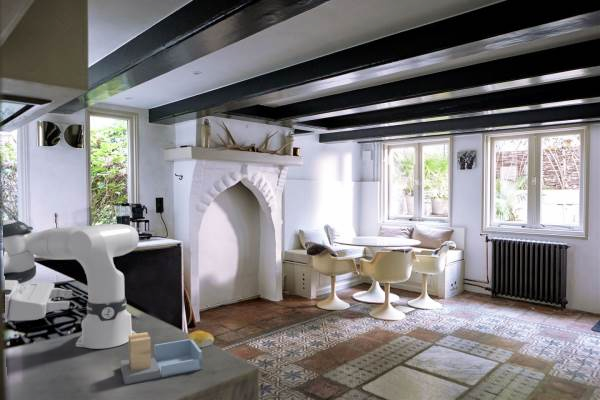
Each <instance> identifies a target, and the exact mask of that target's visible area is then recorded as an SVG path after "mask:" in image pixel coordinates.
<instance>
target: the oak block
mask: <svg viewBox="0 0 600 400" xmlns="http://www.w3.org/2000/svg"><path fill="white" fill-rule="evenodd" d="M151 339H152V338H151V336H150V334H149V333H148V332H147V331H146V332H140V333H137V334H132V335H129V341H128V359H129V365H130V368H131V371H135V370H140V369H146V368H151V355H152V351H151V350H152V346H151V345H152V344H151Z"/></svg>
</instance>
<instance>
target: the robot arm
mask: <svg viewBox="0 0 600 400" xmlns="http://www.w3.org/2000/svg"><path fill="white" fill-rule="evenodd" d="M3 221H4V222H3V259H4V276H5V323H7V322H9V321H11V322H12V321H14V322H15V321H16V322H17V321H35V320H36V321H37V320H39V319H43V318H45V317H46V314H47V312H55V311H59V310H68V309H69V308H70V303H71V302H70V300H68V299H71V298H72V297H73V289H63V288H59V287H55V282H51V281H31V282H30V280H32V279H33V278H35V276H36V275H37V265H36V264H35V257H34V256H36V257H37V258H41V259H45V260H57V261H58V260H60V261H61V260H62V261H63V260H76V261H77V262H78V263H79V264H80V265H81V267H82V268H83V270H84V274H85V275H86V281H87V292H88V293H87V297H88V299H87V301H86V313H87V314H86V316H85V317H84V318H83V319H82V320H81V323H80V329H82V330H81V332H80V333H81V335H80V336H79V337H78V339H77V341H75V348H76V347H77V348H86V349H96V350H97V349H98V350H100V349H110V348H116V347H118V346H121V345H124V344H126V343H129V335H132V334H138V333H137V332H136V331H134V330H133V329H132V314H131V312H129V311H128V310H127V299H126V296H125V275H124V273H123V272H122V271H120V270H119V269H117V268H116V265H115V264H114V258H115V257H121V256H125V255H126V254H129V253H131V252H132V251H134V250H135V249H136V248H137V247H138V245H139V242H140V236H139V233H138V230H137V229H136V228H135V227H133V226H132V225H129V224H122V223H114V224H113V223H112V224H98V225H87V226H85V225H84V226H73V227H72V226H69V227H66V226H65V227H56V228H55V227H54V228H49V229H45V230H41V231H37V232H33V231H32V230H33V229H34V228H33V227H32V226H29V225H27V224H26V223H25V222H23V221H20V220H14V219H6V220H3ZM28 281H29V282H28ZM53 298H64V299H67V300H59V301H58V300H57V301H53V300H52V299H53Z"/></svg>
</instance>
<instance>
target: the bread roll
mask: <svg viewBox="0 0 600 400" xmlns="http://www.w3.org/2000/svg"><path fill="white" fill-rule="evenodd" d="M187 339H193V341H194V342H195V343H196V345H197V346H198V347H199V348H200V349H201V348H206V347H209V346H212V345H213V343H214V341H215V337H214V335H212V334H211V333H209V332H207V331H203V330H195V331H192V332H191V333H189V334H188V335H187V337H186V340H187Z"/></svg>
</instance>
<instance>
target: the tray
mask: <svg viewBox="0 0 600 400" xmlns="http://www.w3.org/2000/svg"><path fill="white" fill-rule="evenodd" d="M153 347H154V357H155V359H156V362H157V364H158V366H159V368H160V374H161V378H164V377H165V378H166V377H171V376H175V375H180V374H185V373H189V372H195V371H199V370H200V371H201V370H203V351H202V350H201V348H199V347H198V346H197V345H196V343H195V342H194V341H193V339H187V338H186V339H181V340H174V341H170V342H163V343H157V344H154V346H153Z"/></svg>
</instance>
